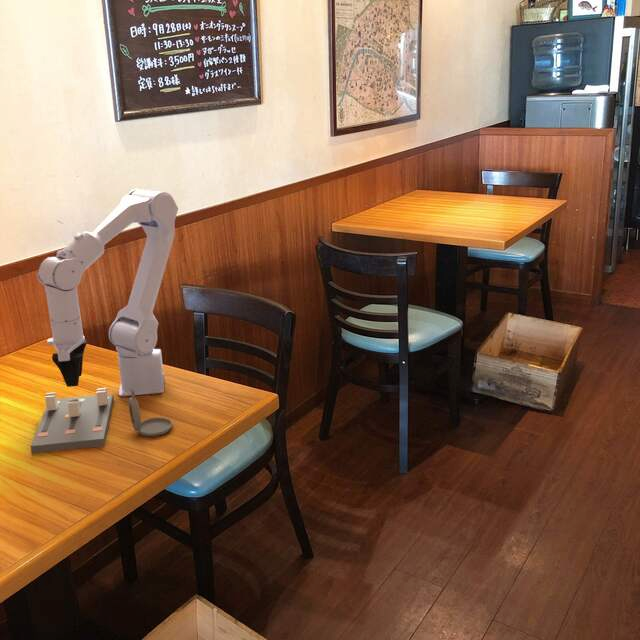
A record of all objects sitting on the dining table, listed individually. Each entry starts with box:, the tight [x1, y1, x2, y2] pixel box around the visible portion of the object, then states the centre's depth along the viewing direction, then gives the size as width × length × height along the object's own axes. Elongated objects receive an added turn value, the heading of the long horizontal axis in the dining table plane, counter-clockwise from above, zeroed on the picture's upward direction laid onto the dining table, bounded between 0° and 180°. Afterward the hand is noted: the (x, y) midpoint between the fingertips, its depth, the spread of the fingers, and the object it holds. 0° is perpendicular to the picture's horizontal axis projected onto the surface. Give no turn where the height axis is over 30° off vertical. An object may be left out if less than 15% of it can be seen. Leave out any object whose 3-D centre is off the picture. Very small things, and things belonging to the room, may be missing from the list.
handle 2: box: [95, 387, 108, 406], centre depth 142 cm, size 2×2×3 cm
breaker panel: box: [30, 393, 115, 454], centre depth 137 cm, size 13×20×2 cm, turn 11°
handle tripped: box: [68, 398, 81, 417], centre depth 138 cm, size 2×2×3 cm
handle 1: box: [44, 391, 58, 411], centre depth 140 cm, size 2×2×3 cm
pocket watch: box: [128, 387, 173, 437], centre depth 133 cm, size 8×8×10 cm
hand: (74, 380), depth 140 cm, fingers open, 4 cm apart
